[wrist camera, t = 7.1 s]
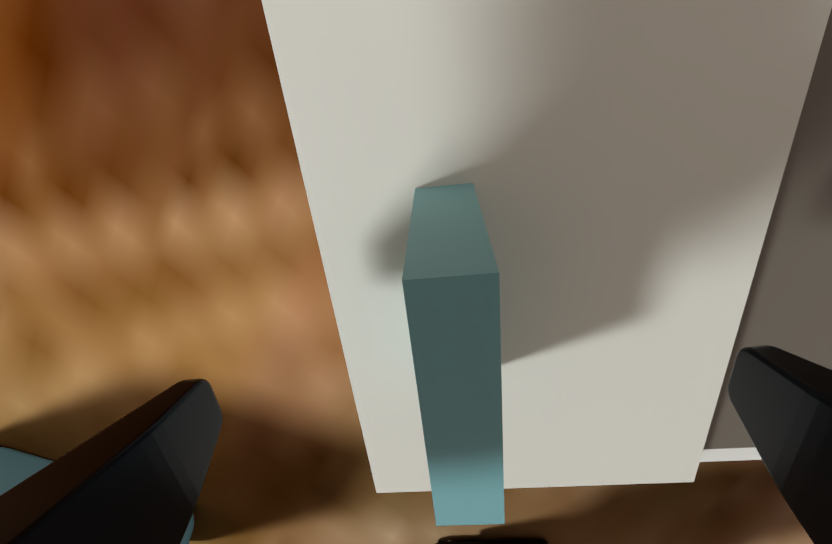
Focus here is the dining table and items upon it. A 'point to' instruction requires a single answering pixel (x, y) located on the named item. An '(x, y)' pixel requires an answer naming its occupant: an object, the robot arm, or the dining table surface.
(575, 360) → the flap
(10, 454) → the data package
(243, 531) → the dining table surface
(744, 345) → the carton
